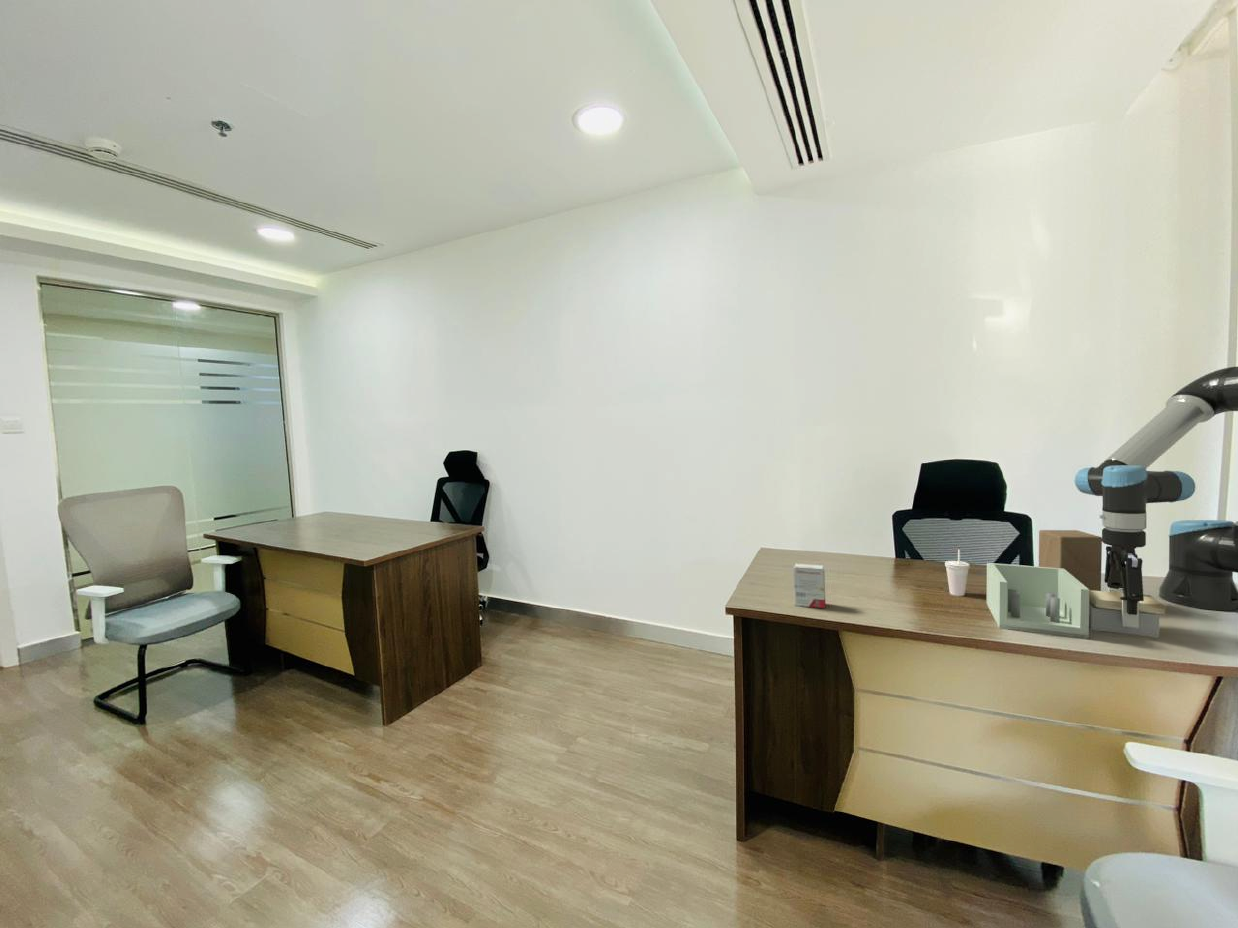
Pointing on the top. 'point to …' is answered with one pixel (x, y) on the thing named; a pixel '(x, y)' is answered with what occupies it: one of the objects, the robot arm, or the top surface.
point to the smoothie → (957, 576)
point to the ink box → (809, 585)
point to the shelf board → (1113, 602)
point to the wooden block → (1073, 554)
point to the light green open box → (1038, 600)
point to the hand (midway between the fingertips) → (1122, 619)
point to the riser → (1113, 622)
